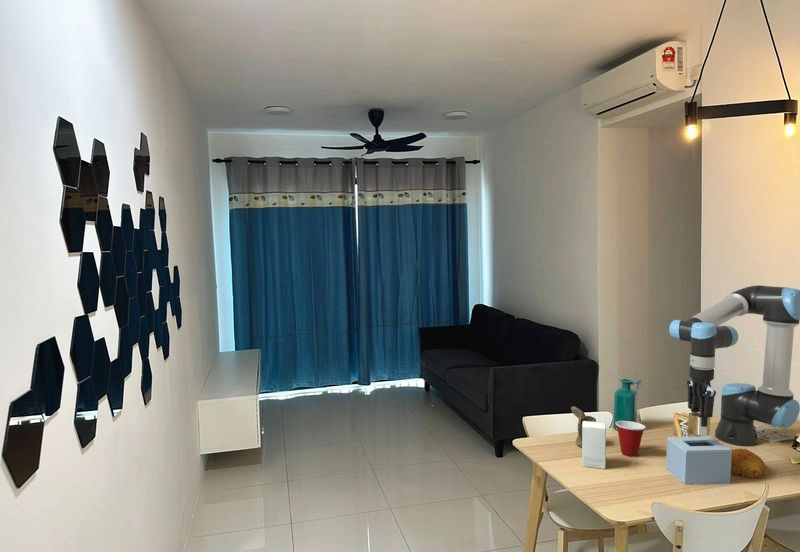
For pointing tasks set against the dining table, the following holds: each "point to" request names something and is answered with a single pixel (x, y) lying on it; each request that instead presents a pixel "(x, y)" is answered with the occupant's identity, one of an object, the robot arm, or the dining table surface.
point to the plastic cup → (630, 437)
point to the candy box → (681, 425)
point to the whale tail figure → (581, 417)
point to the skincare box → (594, 444)
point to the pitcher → (625, 402)
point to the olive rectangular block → (696, 424)
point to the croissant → (747, 464)
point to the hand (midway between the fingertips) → (698, 432)
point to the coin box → (698, 460)
